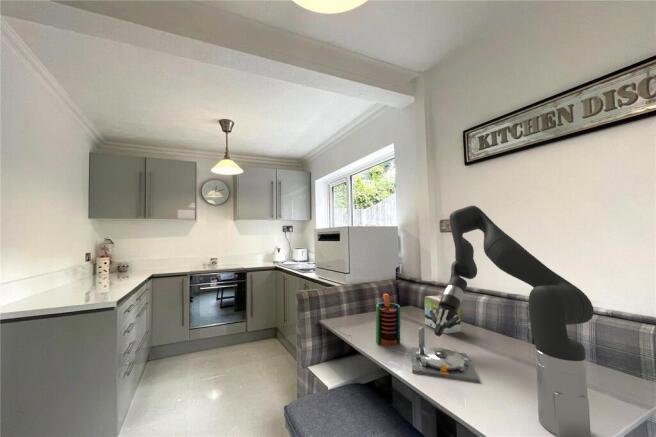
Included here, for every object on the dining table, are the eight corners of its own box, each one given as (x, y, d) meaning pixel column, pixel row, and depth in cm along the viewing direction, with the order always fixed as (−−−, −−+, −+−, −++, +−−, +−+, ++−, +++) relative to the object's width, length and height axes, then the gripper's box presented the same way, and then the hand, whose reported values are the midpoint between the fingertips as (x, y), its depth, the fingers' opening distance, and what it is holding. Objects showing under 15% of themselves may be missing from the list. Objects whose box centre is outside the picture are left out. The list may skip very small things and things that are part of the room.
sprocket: (471, 358, 99) (470, 328, 99) (461, 376, 85) (460, 342, 86) (425, 347, 109) (424, 320, 110) (409, 361, 96) (409, 331, 96)
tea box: (424, 324, 142) (423, 295, 143) (440, 322, 145) (439, 294, 146) (444, 334, 128) (443, 302, 129) (461, 332, 131) (460, 300, 132)
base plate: (479, 382, 85) (479, 378, 85) (412, 372, 90) (412, 369, 90) (466, 356, 104) (466, 352, 104) (411, 349, 109) (411, 346, 109)
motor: (381, 347, 111) (381, 297, 113) (372, 339, 120) (372, 293, 121) (403, 345, 114) (402, 296, 116) (392, 337, 123) (392, 292, 124)
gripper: (470, 307, 111) (457, 345, 103) (440, 301, 121) (425, 335, 113) (464, 296, 108) (449, 334, 100) (433, 290, 119) (418, 324, 110)
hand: (436, 334), depth 106 cm, fingers closed
